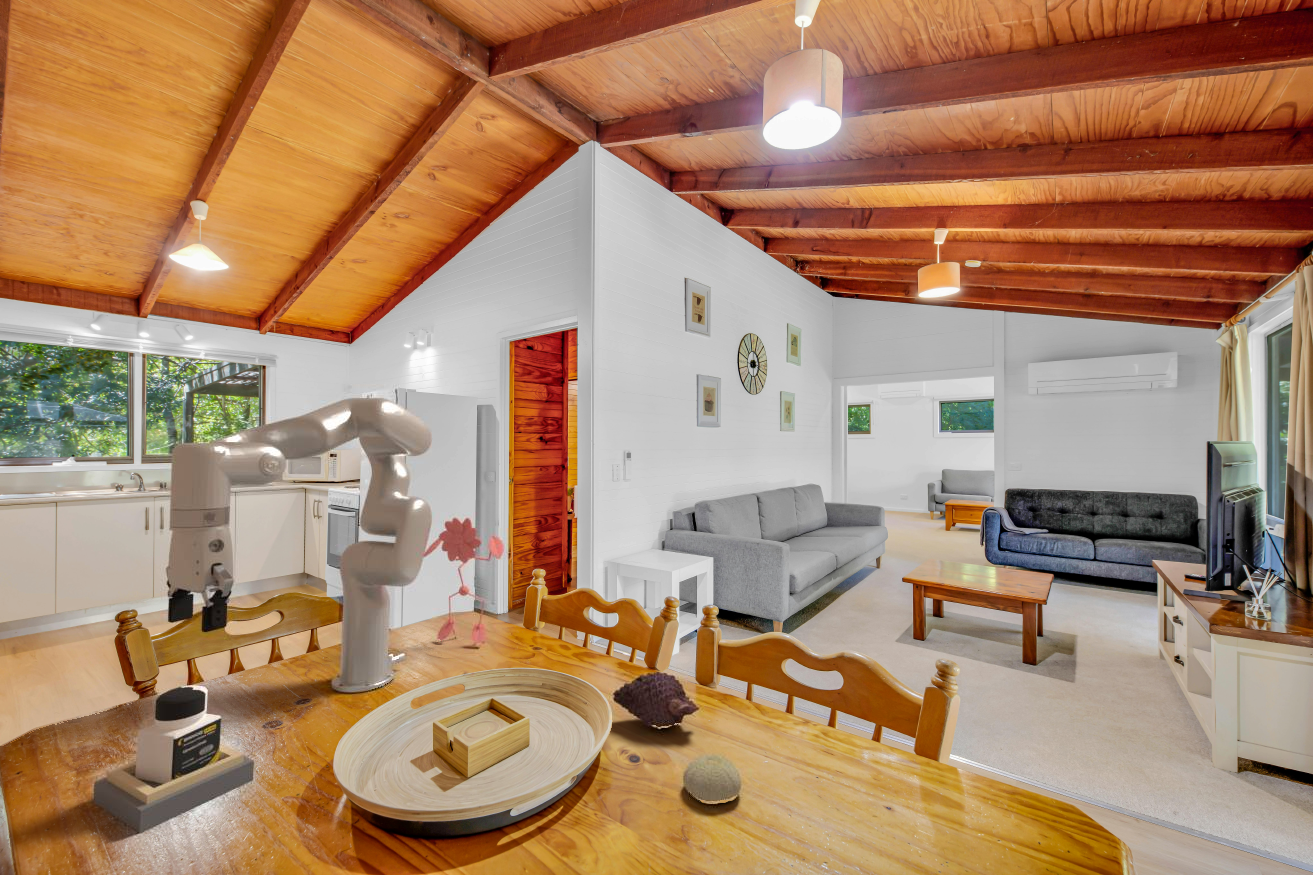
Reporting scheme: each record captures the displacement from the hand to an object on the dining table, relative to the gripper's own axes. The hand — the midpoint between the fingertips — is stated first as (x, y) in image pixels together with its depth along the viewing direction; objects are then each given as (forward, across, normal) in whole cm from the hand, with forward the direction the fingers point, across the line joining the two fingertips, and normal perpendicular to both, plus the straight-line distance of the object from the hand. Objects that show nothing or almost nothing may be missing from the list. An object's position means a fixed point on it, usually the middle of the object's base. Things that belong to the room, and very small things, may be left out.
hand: (196, 624), depth 89 cm
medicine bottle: (+21, -4, +4) cm, 21 cm away
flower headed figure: (+25, +6, -62) cm, 68 cm away
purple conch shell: (+25, -60, -49) cm, 81 cm away
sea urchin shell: (+24, -76, -34) cm, 87 cm away
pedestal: (+24, -4, +4) cm, 24 cm away
